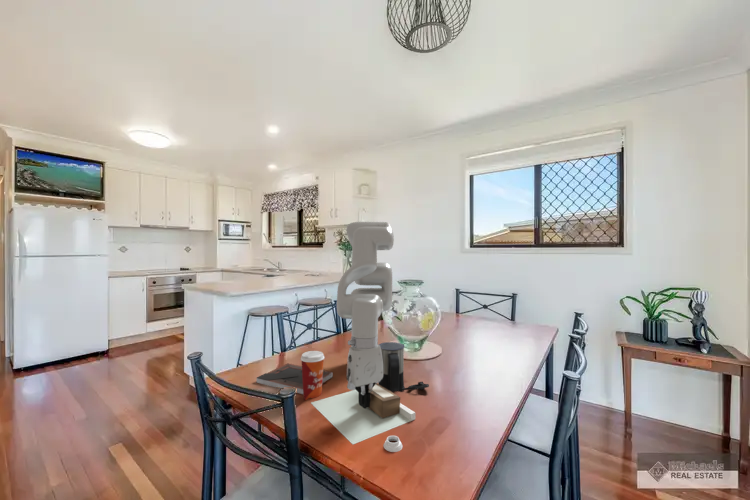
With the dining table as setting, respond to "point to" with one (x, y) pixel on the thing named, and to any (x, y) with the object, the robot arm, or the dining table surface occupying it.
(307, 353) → the paper cup
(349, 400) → the wall board
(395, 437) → the white flanged bushing
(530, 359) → the dining table surface
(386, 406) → the brown rectangular box
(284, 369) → the picture frame
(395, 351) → the milk frother
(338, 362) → the dining table surface
